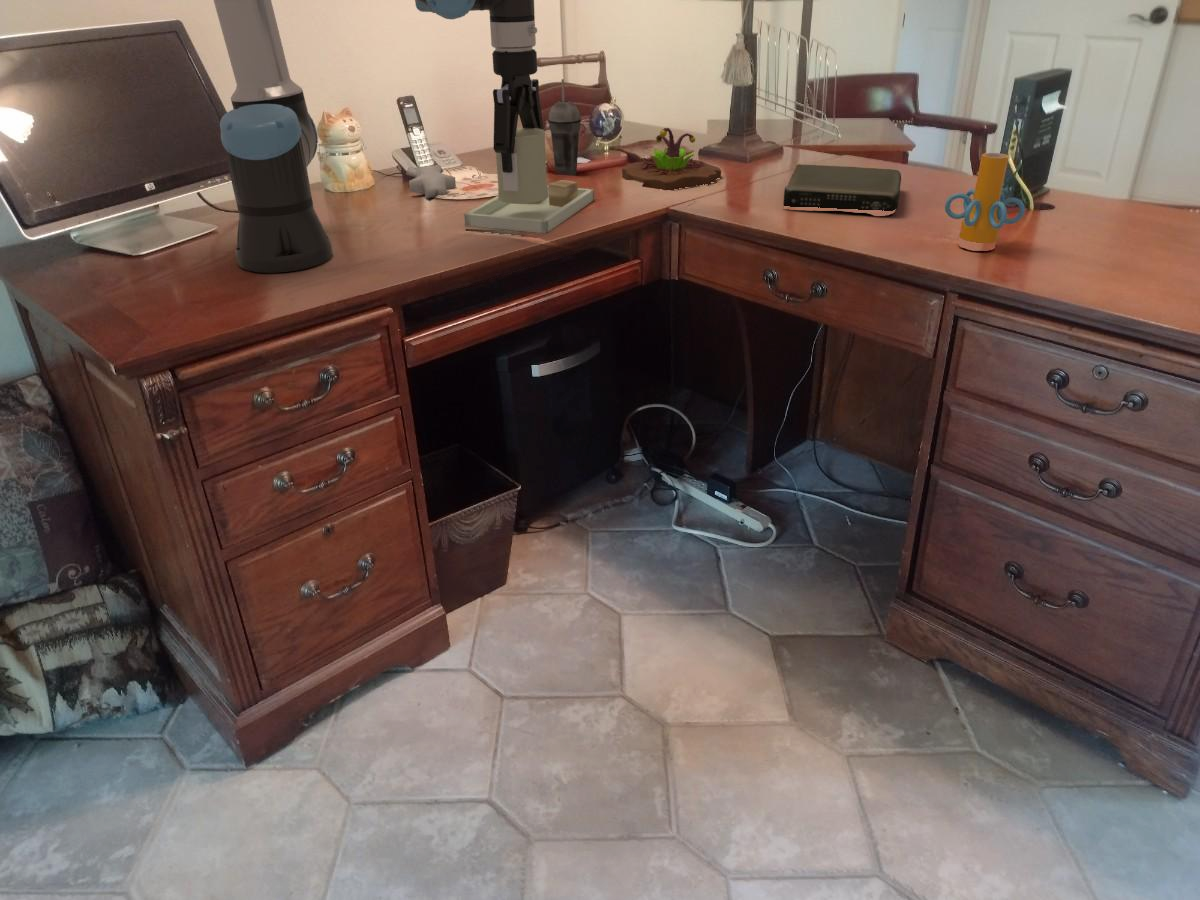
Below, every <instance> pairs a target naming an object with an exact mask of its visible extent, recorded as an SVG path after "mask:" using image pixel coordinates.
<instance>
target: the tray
mask: <svg viewBox="0 0 1200 900" xmlns="http://www.w3.org/2000/svg"><path fill="white" fill-rule="evenodd" d="M547 192H548V198H547V199H545V200H543V201H541V202H540V203H539V204H512V203H506V202H502V201H500V200H499V199H498V195H496V196H495V197H493V198H491V199H489V200H488V201H486V202H484V203H482V204H480V205H478V206H476V207H474V208H473V209H471V210H468V211H467V212H465V213H464V214H463V217H464V226H466V227H467V226H468V227H477V228H479V229H473V228H465V231H466V232H474V231H477V233H484V232H491V233H490V234H494V233H499V234H498V235H504V234H511V235H510V236H514V235H521V236H520V237H524V236H528V235H526V234H522V233H521V234H520V233H517V232H518V231H519V232H526V233H527V232H528V233H529V232H530V233H538V234H547V233H550V232H551V231H553V229H555V228H556V227H557V226H559V225H561V224H562V223H563V222H565V221H566V220H568V219H569V218H571V217H572V216H573V215H575V214H576V213H577V212H579V211H580V210H582V209H584V207H586V206H588V205H589V204H591V203H592V202H593V201H595V189H594V188H582V187H581V188H580V187H578V197H577V198H575V199H574V200H572V201H571V202H569V203H568V204H566V205H564V206H563V207H558V206H553V205H549V186H548V185H547ZM480 228H488V229H480ZM507 230H509V231H507ZM478 231H479V232H478ZM513 231H517V232H513Z"/></svg>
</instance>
